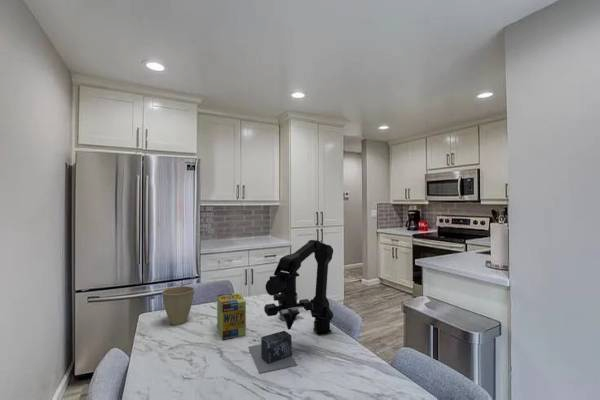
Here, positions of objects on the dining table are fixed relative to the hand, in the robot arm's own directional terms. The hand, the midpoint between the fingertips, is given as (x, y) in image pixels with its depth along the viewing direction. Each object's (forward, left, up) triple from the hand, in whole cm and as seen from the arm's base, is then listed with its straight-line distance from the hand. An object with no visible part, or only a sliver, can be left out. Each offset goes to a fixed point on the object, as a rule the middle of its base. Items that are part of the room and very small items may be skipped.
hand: (289, 329), depth 114 cm
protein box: (+19, -28, -9) cm, 35 cm away
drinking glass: (-10, -32, -9) cm, 35 cm away
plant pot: (+42, -49, -9) cm, 65 cm away
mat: (+7, 0, -9) cm, 12 cm away
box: (0, +1, -5) cm, 5 cm away
